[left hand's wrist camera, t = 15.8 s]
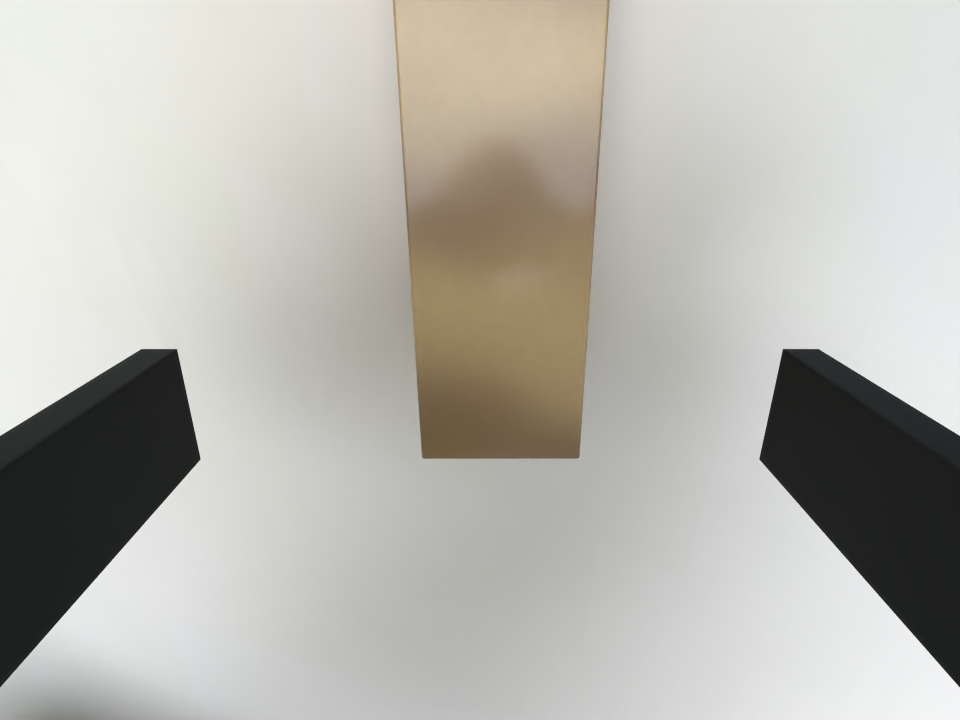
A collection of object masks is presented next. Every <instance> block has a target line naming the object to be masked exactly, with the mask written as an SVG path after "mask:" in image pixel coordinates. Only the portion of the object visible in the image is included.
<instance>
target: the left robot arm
mask: <svg viewBox="0 0 960 720" xmlns="http://www.w3.org/2000/svg"><path fill="white" fill-rule="evenodd" d="M199 460H200V454H199V450H198V445H197V440H196V436H195V431H194V427H193V422H192V417H191V413H190V408H189V403H188V399H187V394H186V389H185V385H184V380H183V375H182V371H181V366H180V361H179V357H178V352H177V349H141V350H139V351H138V352H136V353H135V354H133V355H131V356H130V357H128V358H126V359H125V360H123V361H122V362H120V363H118V364H117V365H115V366H113V367H112V368H110V369H109V370H107V371H105V372H104V373H102V374H100V375H99V376H97V377H96V378H94V379H92V380H91V381H89V382H87V383H86V384H84V385H82V386H81V387H79V388H78V389H76V390H74V391H73V392H71V393H69V394H68V395H66V396H65V397H63V398H61V399H60V400H58V401H56V402H55V403H53V404H52V405H50V406H48V407H47V408H45V409H43V410H42V411H40V412H39V413H37V414H35V415H34V416H32V417H30V418H29V419H27V420H26V421H24V422H22V423H21V424H19V425H17V426H16V427H14V428H12V429H11V430H9V431H8V432H6V433H4V434H3V435H1V436H0V687H1V686H2V685H3V683H4V682H5V681H6V680H7V679H8V678H9V677H10V676H11V674H12V673H13V672H14V671H15V670H16V669H17V668H18V666H19V665H20V664H21V663H22V662H23V661H24V660H25V658H26V657H27V656H28V655H29V654H30V653H31V652H32V650H33V649H34V648H35V647H36V646H37V645H38V644H39V643H40V641H41V640H42V639H43V638H44V637H45V636H46V635H47V633H48V632H49V631H50V630H51V629H52V628H53V627H54V625H55V624H56V623H57V622H58V621H59V620H60V619H61V617H62V616H63V615H64V614H65V613H66V612H67V611H68V610H69V608H70V607H71V606H72V605H73V604H74V603H75V602H76V600H77V599H78V598H79V597H80V596H81V595H82V594H83V592H84V591H85V590H86V589H87V588H88V587H89V586H90V584H91V583H92V582H93V581H94V580H95V579H96V578H97V577H98V575H99V574H100V573H101V572H102V571H103V570H104V569H105V567H106V566H107V565H108V564H109V563H110V562H111V561H112V559H113V558H114V557H115V556H116V555H117V554H118V553H119V551H120V550H121V549H122V548H123V547H124V546H125V545H126V544H127V542H128V541H129V540H130V539H131V538H132V537H133V536H134V534H135V533H136V532H137V531H138V530H139V529H140V528H141V526H142V525H143V524H144V523H145V522H146V521H147V520H148V518H149V517H150V516H151V515H152V514H153V513H154V512H155V511H156V509H157V508H158V507H159V506H160V505H161V504H162V503H163V501H164V500H165V499H166V498H167V497H168V496H169V495H170V493H171V492H172V491H173V490H174V489H175V488H176V487H177V485H178V484H179V483H180V482H181V481H182V480H183V479H184V478H185V476H186V475H187V474H188V473H189V472H190V471H191V470H192V468H193V467H194V466H195V465H196V464H197V463H198V462H199ZM760 460H761V462H762V463H763V464H764V465H765V466H766V467H767V468H768V470H769V471H770V472H771V473H772V474H773V475H774V476H775V478H776V479H777V480H778V481H779V482H780V483H781V484H782V485H783V487H784V488H785V489H786V490H787V491H788V492H789V493H790V495H791V496H792V497H793V498H794V499H795V500H796V501H797V503H798V504H799V505H800V506H801V507H802V508H803V509H804V511H805V512H806V513H807V514H808V515H809V516H810V517H811V518H812V520H813V521H814V522H815V523H816V524H817V525H818V526H819V528H820V529H821V530H822V531H823V532H824V533H825V534H826V536H827V537H828V538H829V539H830V540H831V541H832V542H833V544H834V545H835V546H836V547H837V548H838V549H839V550H840V551H841V553H842V554H843V555H844V556H845V557H846V558H847V559H848V561H849V562H850V563H851V564H852V565H853V566H854V567H855V569H856V570H857V571H858V572H859V573H860V574H861V575H862V577H863V578H864V579H865V580H866V581H867V582H868V583H869V584H870V586H871V587H872V588H873V589H874V590H875V591H876V592H877V594H878V595H879V596H880V597H881V598H882V599H883V600H884V602H885V603H886V604H887V605H888V606H889V607H890V608H891V610H892V611H893V612H894V613H895V614H896V615H897V616H898V617H899V619H900V620H901V621H902V622H903V623H904V624H905V625H906V627H907V628H908V629H909V630H910V631H911V632H912V633H913V635H914V636H915V637H916V638H917V639H918V640H919V641H920V643H921V644H922V645H923V646H924V647H925V648H926V649H927V650H928V652H929V653H930V654H931V655H932V656H933V657H934V658H935V660H936V661H937V662H938V663H939V664H940V665H941V666H942V668H943V669H944V670H945V671H946V672H947V673H948V674H949V676H950V677H951V678H952V679H953V680H954V681H955V682H956V683H957V685H958V686H959V687H960V436H959V435H957V434H956V433H954V432H952V431H951V430H949V429H947V428H946V427H944V426H943V425H941V424H939V423H938V422H936V421H934V420H933V419H931V418H930V417H928V416H926V415H925V414H923V413H921V412H920V411H918V410H917V409H915V408H913V407H912V406H910V405H908V404H907V403H905V402H904V401H902V400H900V399H899V398H897V397H895V396H894V395H892V394H891V393H889V392H887V391H886V390H884V389H882V388H881V387H879V386H878V385H876V384H874V383H873V382H871V381H869V380H868V379H866V378H864V377H863V376H861V375H860V374H858V373H856V372H855V371H853V370H851V369H850V368H848V367H847V366H845V365H843V364H842V363H840V362H838V361H837V360H835V359H834V358H832V357H830V356H829V355H827V354H825V353H824V352H822V351H821V350H819V349H783V352H782V357H781V361H780V366H779V371H778V375H777V380H776V385H775V389H774V394H773V399H772V403H771V408H770V413H769V417H768V422H767V427H766V431H765V436H764V440H763V445H762V450H761V454H760Z"/></svg>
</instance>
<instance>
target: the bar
mask: <svg viewBox="0 0 960 720" xmlns="http://www.w3.org/2000/svg"><path fill="white" fill-rule="evenodd" d="M393 9H394V24H395V40H396V56H397V72H398V87H399V103H400V119H401V135H402V150H403V166H404V182H405V197H406V213H407V229H408V245H409V260H410V276H411V292H412V307H413V323H414V339H415V355H416V370H417V386H418V402H419V417H420V433H421V449H422V458H579V453H580V438H581V423H582V408H583V393H584V377H585V362H586V347H587V332H588V317H589V302H590V287H591V272H592V257H593V241H594V226H595V211H596V196H597V181H598V166H599V151H600V136H601V120H602V105H603V90H604V75H605V60H606V45H607V30H608V15H609V0H393Z"/></svg>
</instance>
